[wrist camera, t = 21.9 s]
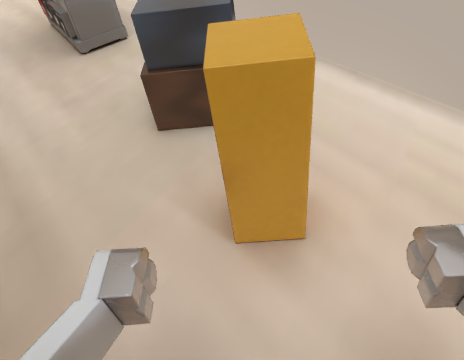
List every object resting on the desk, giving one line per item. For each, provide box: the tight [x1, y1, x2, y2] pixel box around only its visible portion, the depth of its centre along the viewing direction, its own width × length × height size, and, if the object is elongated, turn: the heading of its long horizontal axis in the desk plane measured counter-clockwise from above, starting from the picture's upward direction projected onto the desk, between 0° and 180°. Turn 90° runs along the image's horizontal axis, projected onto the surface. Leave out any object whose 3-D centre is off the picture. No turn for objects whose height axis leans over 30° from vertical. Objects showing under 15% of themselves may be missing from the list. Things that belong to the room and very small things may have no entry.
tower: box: [131, 0, 235, 130], centre depth 28 cm, size 8×8×9 cm
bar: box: [203, 13, 315, 243], centre depth 18 cm, size 4×4×11 cm
